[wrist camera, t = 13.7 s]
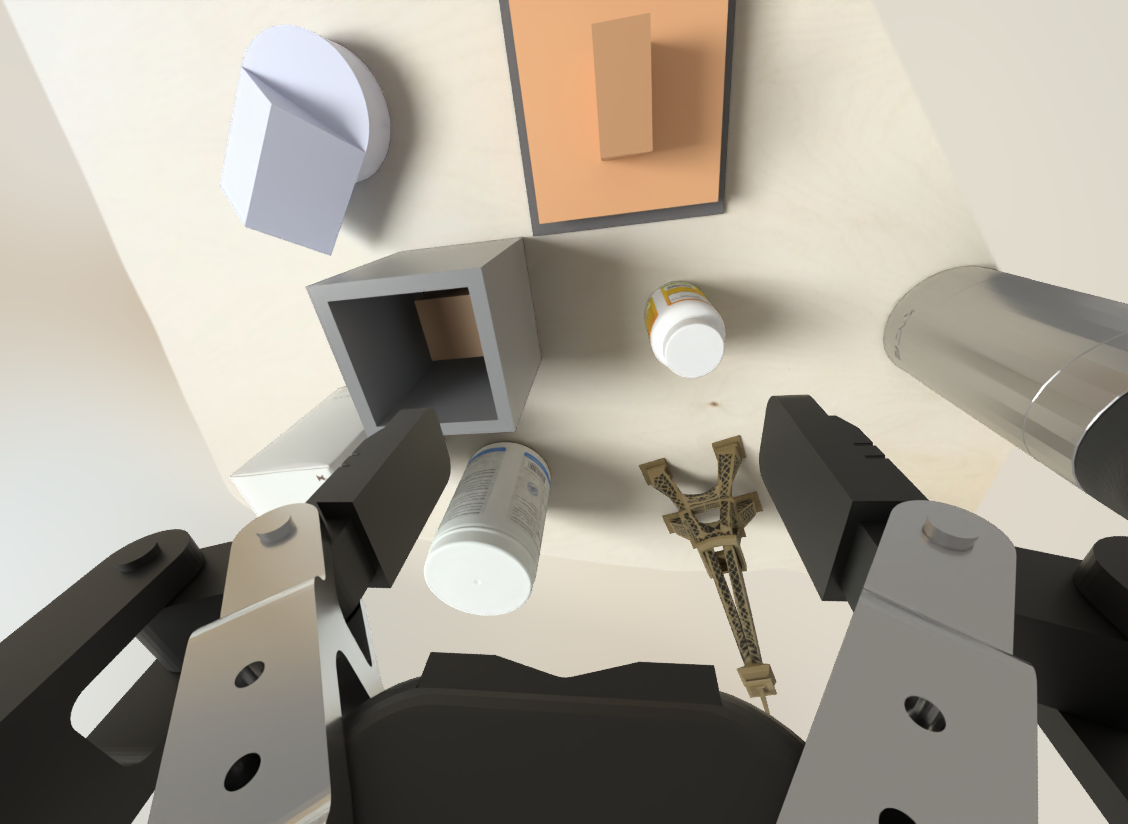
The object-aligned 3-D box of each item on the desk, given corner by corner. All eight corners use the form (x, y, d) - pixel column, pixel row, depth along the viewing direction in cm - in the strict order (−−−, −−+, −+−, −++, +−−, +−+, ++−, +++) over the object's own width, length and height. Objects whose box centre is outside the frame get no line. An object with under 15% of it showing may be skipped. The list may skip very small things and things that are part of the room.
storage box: (522, 236, 35) (480, 267, 24) (541, 359, 40) (515, 431, 29) (399, 251, 36) (305, 286, 25) (433, 367, 42) (368, 439, 30)
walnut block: (494, 277, 37) (475, 294, 32) (505, 331, 39) (489, 355, 34) (441, 283, 38) (414, 300, 32) (455, 336, 40) (432, 360, 35)
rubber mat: (737, -59, 25) (739, -62, 25) (721, 212, 33) (723, 213, 32) (498, -9, 27) (497, -11, 27) (534, 235, 35) (533, 236, 34)
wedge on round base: (352, 249, 37) (408, 94, 31) (304, 263, 31) (361, 76, 25) (252, 184, 35) (290, 6, 29) (180, 187, 29) (210, -35, 23)
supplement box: (336, 385, 44) (221, 474, 31) (414, 375, 42) (329, 464, 29) (369, 456, 48) (281, 559, 35) (442, 449, 47) (378, 554, 34)
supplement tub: (467, 496, 50) (419, 607, 37) (471, 430, 45) (416, 531, 32) (547, 511, 50) (526, 626, 37) (559, 446, 45) (539, 554, 32)
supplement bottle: (670, 352, 39) (687, 401, 30) (631, 311, 37) (637, 351, 29) (719, 311, 36) (752, 353, 28) (680, 266, 35) (702, 296, 26)
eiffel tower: (761, 508, 47) (892, 797, 25) (669, 531, 50) (716, 807, 28) (738, 434, 42) (872, 707, 21) (639, 464, 45) (666, 730, 24)
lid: (721, -37, 26) (761, -113, 19) (711, 199, 32) (738, 206, 25) (515, 5, 27) (484, -51, 21) (543, 220, 34) (527, 232, 27)
